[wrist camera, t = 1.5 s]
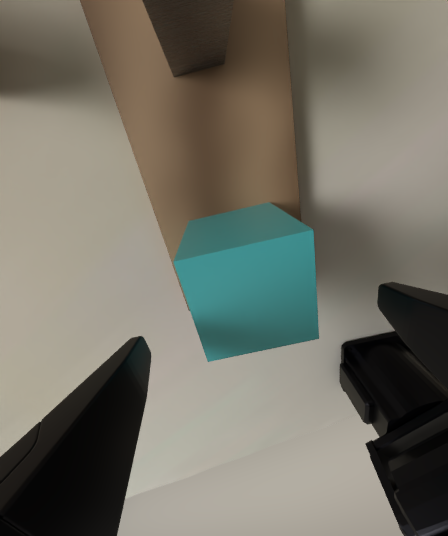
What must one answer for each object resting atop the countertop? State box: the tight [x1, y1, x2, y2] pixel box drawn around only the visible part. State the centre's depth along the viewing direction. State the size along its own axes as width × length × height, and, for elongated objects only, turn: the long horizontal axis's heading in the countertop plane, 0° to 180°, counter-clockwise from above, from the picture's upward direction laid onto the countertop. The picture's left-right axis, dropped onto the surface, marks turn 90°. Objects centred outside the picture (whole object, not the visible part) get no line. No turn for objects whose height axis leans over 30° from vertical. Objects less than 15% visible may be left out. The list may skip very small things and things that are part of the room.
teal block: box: [173, 202, 319, 362], centre depth 12 cm, size 5×5×7 cm
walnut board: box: [80, 0, 301, 311], centre depth 13 cm, size 9×20×1 cm, turn 13°
